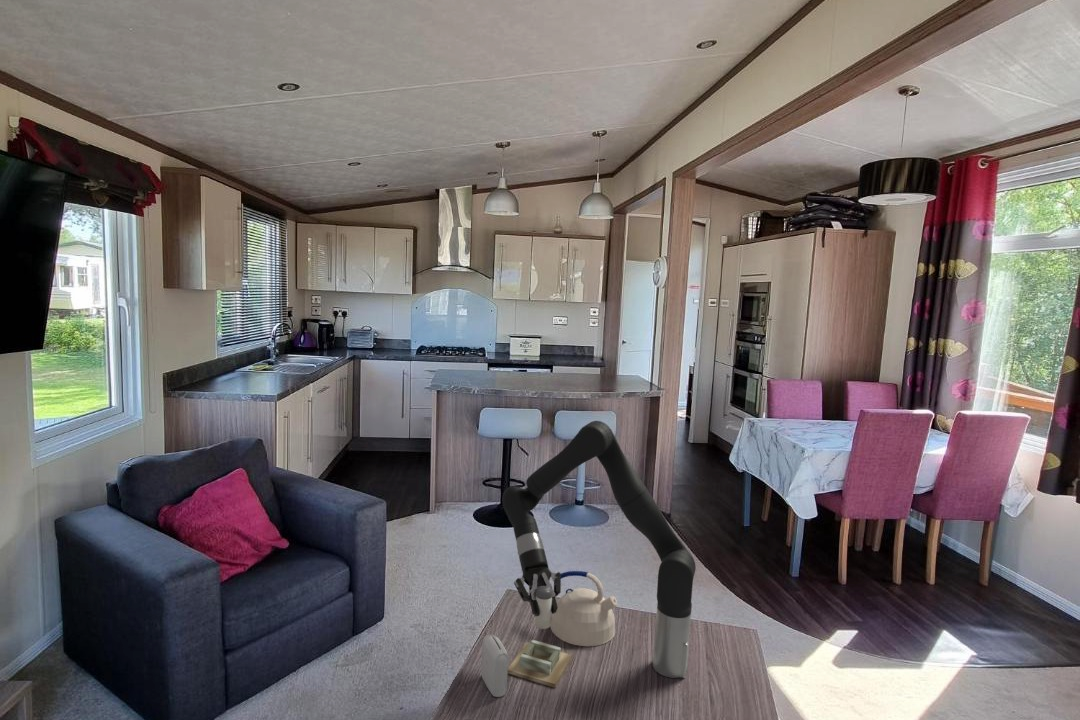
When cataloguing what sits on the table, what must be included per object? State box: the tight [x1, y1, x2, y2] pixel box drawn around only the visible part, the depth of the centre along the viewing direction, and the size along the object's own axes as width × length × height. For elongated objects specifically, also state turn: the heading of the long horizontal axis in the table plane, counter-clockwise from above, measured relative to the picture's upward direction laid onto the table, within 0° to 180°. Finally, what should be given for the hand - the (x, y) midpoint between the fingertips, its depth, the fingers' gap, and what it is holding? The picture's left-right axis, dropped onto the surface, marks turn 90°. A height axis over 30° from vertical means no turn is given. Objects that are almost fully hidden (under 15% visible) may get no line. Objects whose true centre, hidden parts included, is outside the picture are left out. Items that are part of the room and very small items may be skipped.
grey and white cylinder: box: [533, 586, 553, 630], centre depth 160 cm, size 4×4×10 cm
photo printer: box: [480, 633, 509, 698], centre depth 152 cm, size 10×4×12 cm, turn 26°
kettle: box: [549, 570, 618, 647], centre depth 180 cm, size 20×21×18 cm
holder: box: [507, 639, 573, 689], centre depth 161 cm, size 14×14×4 cm
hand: (546, 613), depth 158 cm, fingers closed on grey and white cylinder, 4 cm apart
